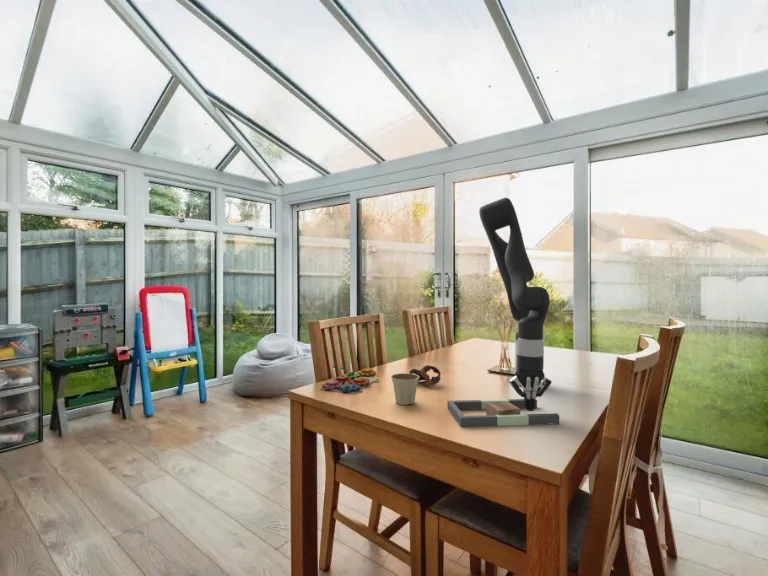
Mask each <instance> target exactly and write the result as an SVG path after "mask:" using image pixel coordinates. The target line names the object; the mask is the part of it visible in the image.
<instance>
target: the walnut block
mask: <svg viewBox="0 0 768 576" xmlns="http://www.w3.org/2000/svg"><path fill="white" fill-rule="evenodd" d="M485 411H486V412H485V415H513V414H521V408H518V407H516V406H515V405H513V404H511V403H509V402H508V401H505V402H492V403H486V409H485Z"/></svg>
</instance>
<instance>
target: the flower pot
mask: <svg viewBox="0 0 768 576" xmlns="http://www.w3.org/2000/svg"><path fill="white" fill-rule="evenodd" d="M390 379H391V380H392V383H393V392H394V397H395V399H394V400H395V403H396V404H398V405H401V406H409V405H414V404H415V402H416V401H415V400H416V394H417V392H416V391H417V387H418V383H419V381H418V379H419V376H418V375H416V374H415V373H413V374H410V373H409V372H407V373H405V372H404V373H402V372H401V373H395V374H392V375H390Z"/></svg>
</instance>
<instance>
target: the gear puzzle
mask: <svg viewBox="0 0 768 576" xmlns="http://www.w3.org/2000/svg"><path fill="white" fill-rule="evenodd" d="M375 375H377V372H376V370H372V368H367V367H366V368H363V369H361V370H359V371H357V372H354V371H349V372H348V373H343V374H342V375H339V376H336V378H333V379H332V380H328V381H326V382H325V383H322V385H321V387H320V388H319V390H320V391H330V392H333V393H334V392H335V393H340V392H341V393H340V394H343V393H347V394H348V393H350V395H355V394H358V393H359V394H361V393H363V392H364V390H363V389H366V388H372V384H374V383H375V384H377V383H379V382H380V380H379V378H377V377H374V376H375Z"/></svg>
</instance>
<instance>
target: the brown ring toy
mask: <svg viewBox="0 0 768 576" xmlns="http://www.w3.org/2000/svg"><path fill="white" fill-rule="evenodd" d="M431 370H432V372H433V373H436V374H437V376H430V375H429V374H428V373H427V372H430V371H431ZM408 373H410V374H416V375H418V376H419V379H418V382H421V381H425V382H426V384H425V387H426V388H429V389H430V387H432V386H435V385H436V384H437V385H438V384H439V383H440V381H441V374H442V373H441V371H440V369H439V368H437V367H436V366H433V365H430V364H429V365H427V364H426V365H424V366H423V367H421V368H420V369H417V368H412V369H410V371H409V372H408Z"/></svg>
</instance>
